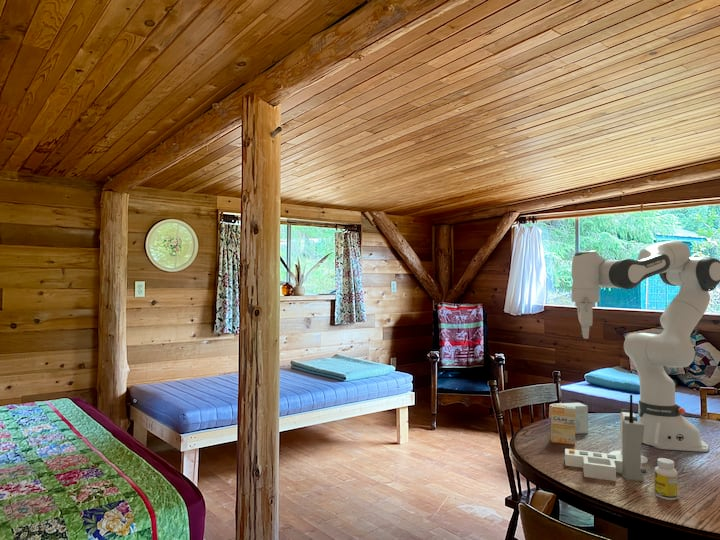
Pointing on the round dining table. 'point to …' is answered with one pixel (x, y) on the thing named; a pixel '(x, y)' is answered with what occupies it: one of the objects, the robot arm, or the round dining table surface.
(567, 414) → the supplement box
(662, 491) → the supplement bottle
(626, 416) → the white holder
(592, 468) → the charging dock
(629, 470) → the vintage mobile phone
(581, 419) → the skincare box
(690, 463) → the round dining table surface
